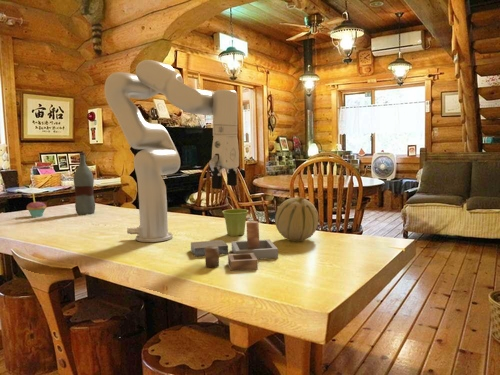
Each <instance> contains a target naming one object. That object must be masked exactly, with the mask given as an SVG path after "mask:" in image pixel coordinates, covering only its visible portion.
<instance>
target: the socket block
mask: <svg viewBox="0 0 500 375" xmlns="http://www.w3.org/2000/svg"><path fill="white" fill-rule="evenodd" d="M258 260H259V259H257V258H256V257H255V255H254V253H243V254H233V253H228V254H227V261H228V262H227V263H228V266H229V269H230V271H231V272H235V271H246V270H247V271H250V270H258V269H259V268H258V266H259V265H258V264H259V262H258Z"/></svg>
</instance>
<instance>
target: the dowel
mask: <svg viewBox="0 0 500 375" xmlns="http://www.w3.org/2000/svg"><path fill="white" fill-rule="evenodd" d="M245 225H246V241H247V248H248V250H249V249H260V246H259V240H260V223H259V221H255V220H253V221H246V223H245Z"/></svg>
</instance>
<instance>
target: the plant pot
mask: <svg viewBox="0 0 500 375" xmlns="http://www.w3.org/2000/svg"><path fill="white" fill-rule="evenodd" d="M221 212H222V214H223V217H224V220H225V226H226V233H227V235H228V236H231V237H238V236H244V235H245V230H246V223H247V216H248V213H249V210H248V209H245V208H244V209H243V208H232V209H231V208H229V209H225V210H222V211H221Z"/></svg>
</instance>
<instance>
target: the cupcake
mask: <svg viewBox="0 0 500 375" xmlns="http://www.w3.org/2000/svg"><path fill="white" fill-rule="evenodd" d="M32 200H33V202H30V203H28V204H27V205H26V210H28V212H29V214H30V216H31V218H39V217H43V216H44V212H45V210H46V209H47V204H45V203H44V202H42V201H36V199H35V193H32Z"/></svg>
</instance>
